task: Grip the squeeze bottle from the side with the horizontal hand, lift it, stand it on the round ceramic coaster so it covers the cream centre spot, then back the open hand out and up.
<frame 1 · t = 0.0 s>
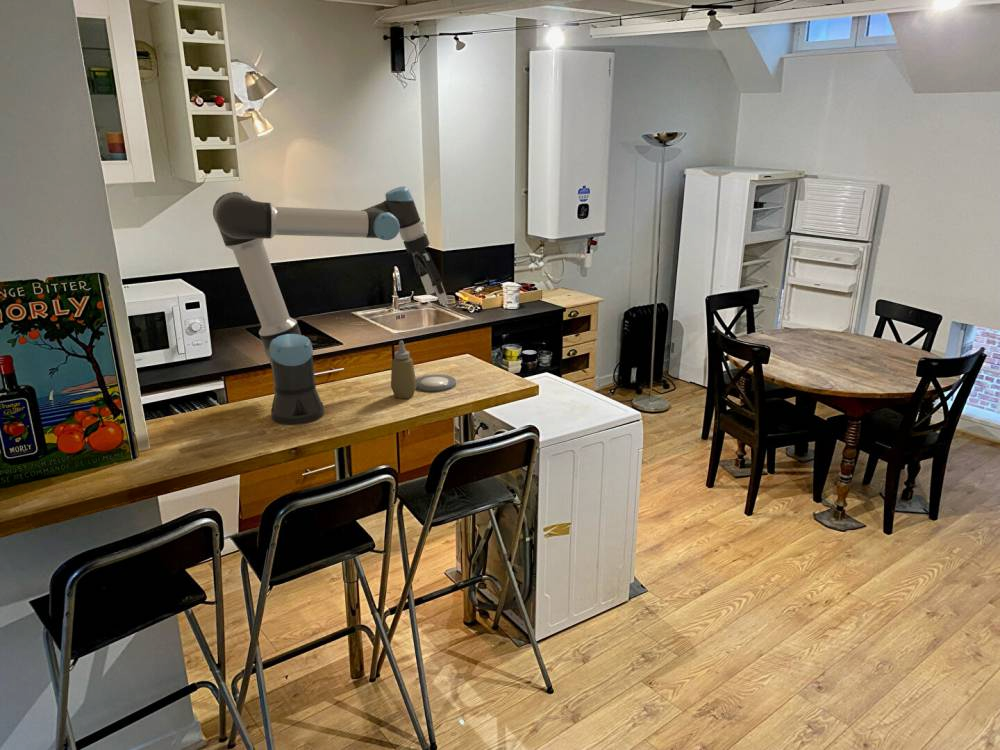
hand: (437, 297, 244), 28 cm above the table, tool tilted 20°, fingers open, 13 cm apart
squeeze bottle: (404, 396, 239), on the table
coaster: (434, 384, 248), on the table
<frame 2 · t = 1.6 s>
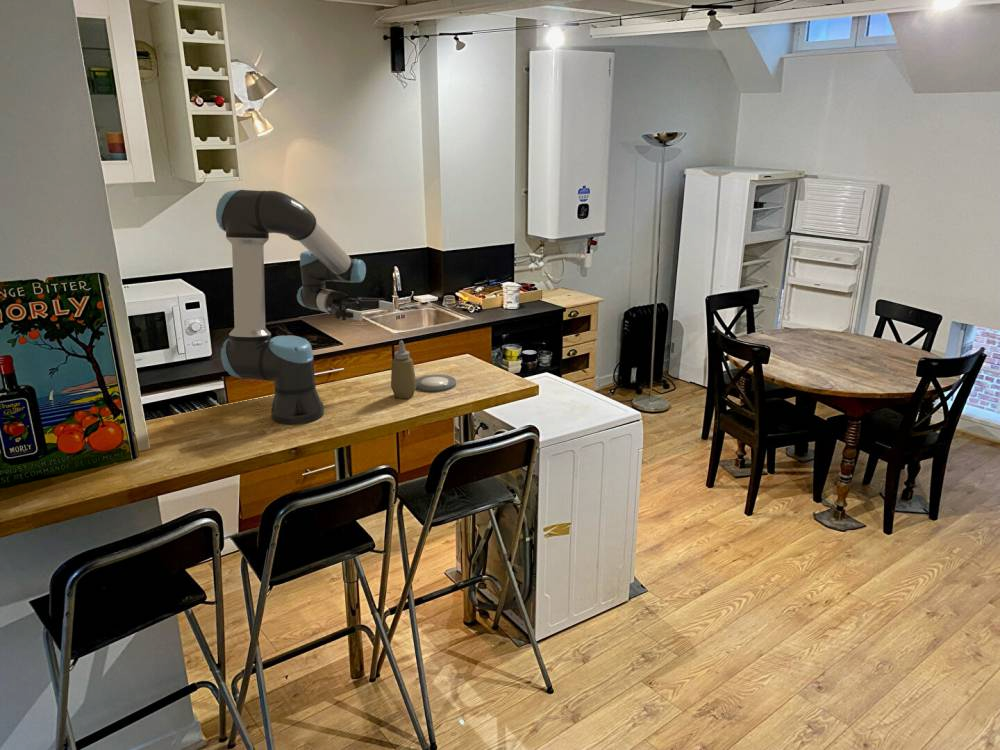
hand: (378, 312, 236), 26 cm above the table, tool horizontal, fingers open, 13 cm apart
nothing on the table moved.
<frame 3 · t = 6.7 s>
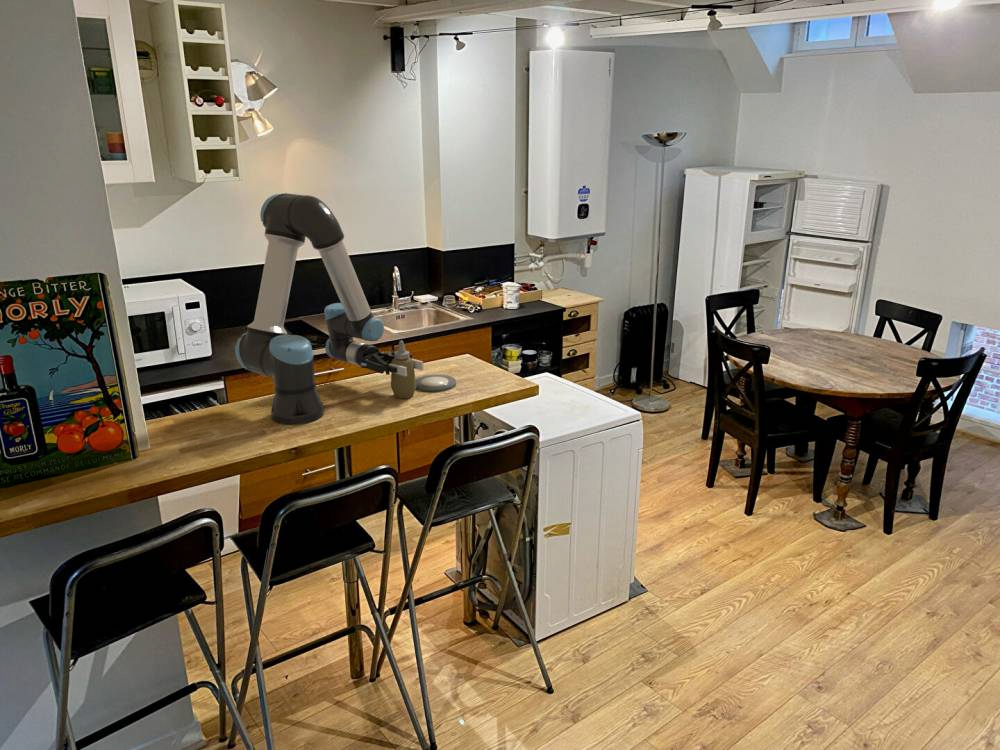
hand: (414, 368, 232), 10 cm above the table, tool horizontal, fingers closed on squeeze bottle, 6 cm apart
squeeze bottle: (404, 396, 239), on the table, touching gripper
when the fingers open (13 cm above the table, at t = 12.0 s): squeeze bottle drops 1 cm, resting on coaster.
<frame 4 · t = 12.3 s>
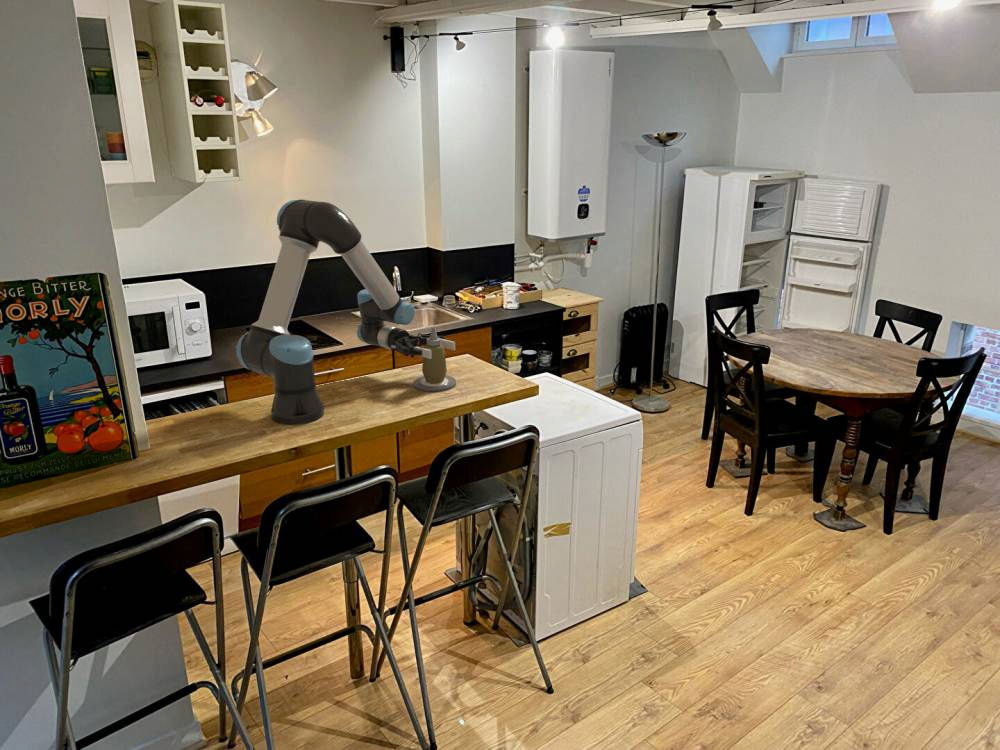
hand: (442, 350, 242), 13 cm above the table, tool horizontal, fingers open, 10 cm apart
squeeze bottle: (434, 381, 248), point 1 cm above the table, touching coaster
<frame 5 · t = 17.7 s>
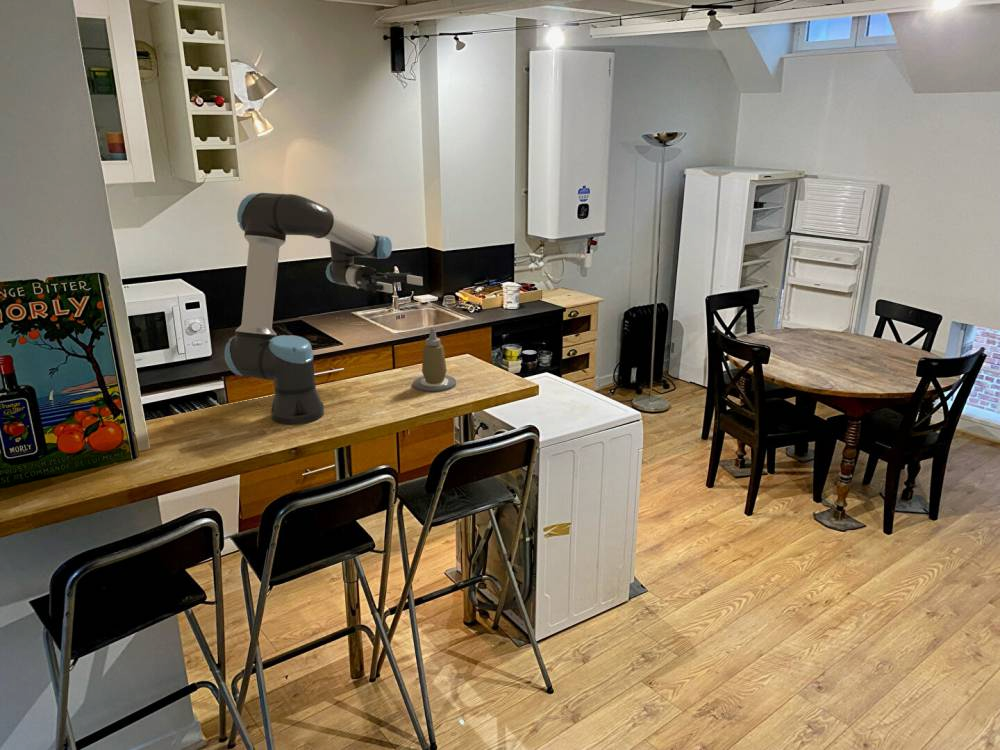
hand: (407, 285, 243), 32 cm above the table, tool horizontal, fingers open, 13 cm apart
nothing on the table moved.
at the end: squeeze bottle 0.0 cm from the coaster (horizontally); squeeze bottle tilted 0°; squeeze bottle touching coaster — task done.
